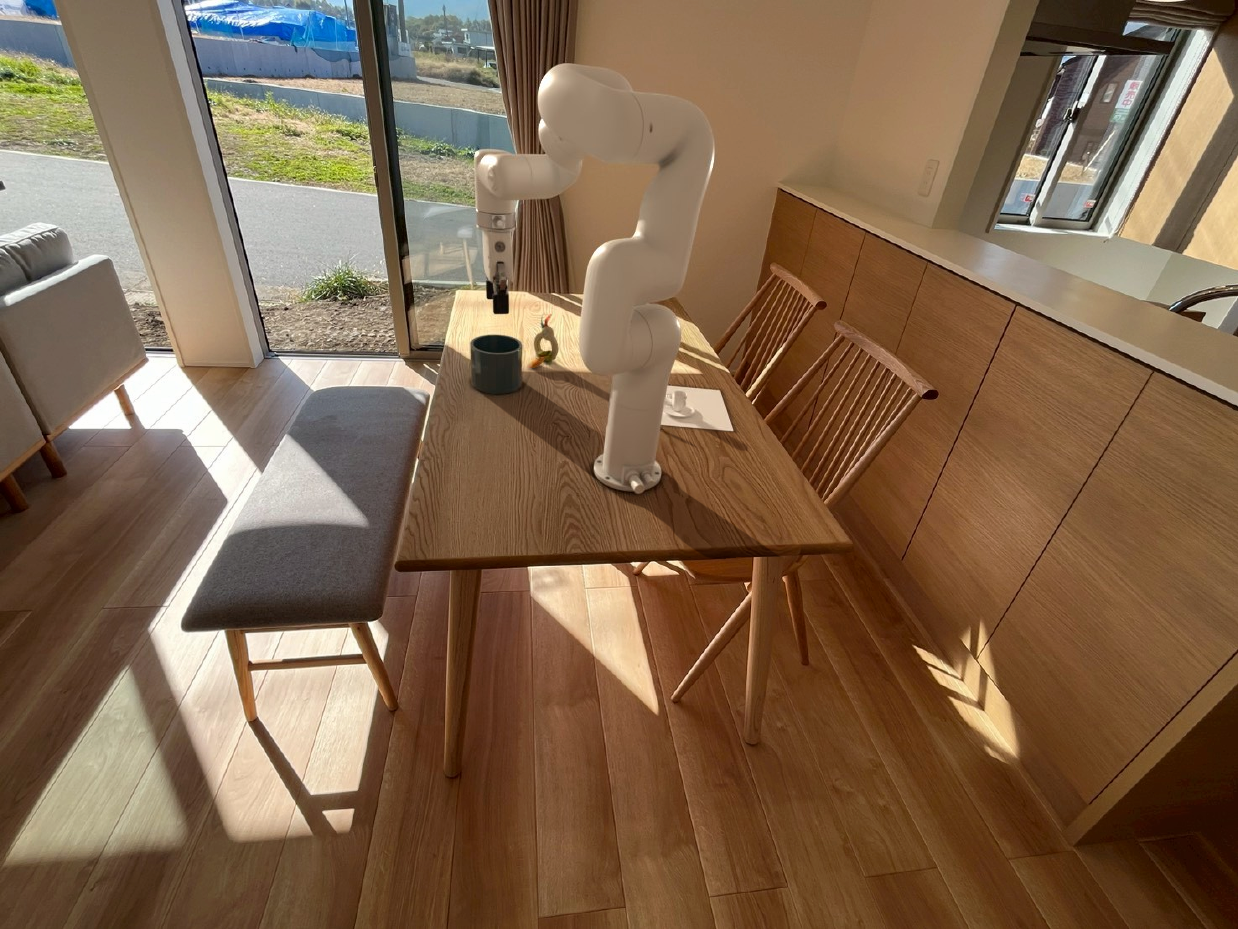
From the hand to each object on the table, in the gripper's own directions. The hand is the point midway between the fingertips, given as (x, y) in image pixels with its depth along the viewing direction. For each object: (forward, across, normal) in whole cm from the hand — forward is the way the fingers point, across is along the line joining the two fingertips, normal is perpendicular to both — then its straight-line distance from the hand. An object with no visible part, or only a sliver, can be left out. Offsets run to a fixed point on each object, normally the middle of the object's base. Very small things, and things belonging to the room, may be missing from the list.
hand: (497, 306), depth 126 cm
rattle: (+18, +12, -12) cm, 25 cm away
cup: (+18, +1, 0) cm, 18 cm away
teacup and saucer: (+19, -15, -40) cm, 46 cm away
